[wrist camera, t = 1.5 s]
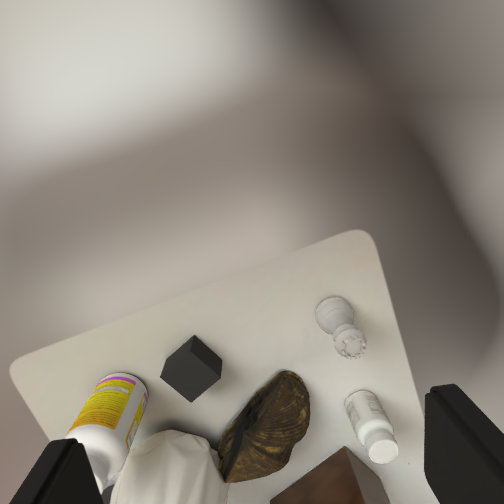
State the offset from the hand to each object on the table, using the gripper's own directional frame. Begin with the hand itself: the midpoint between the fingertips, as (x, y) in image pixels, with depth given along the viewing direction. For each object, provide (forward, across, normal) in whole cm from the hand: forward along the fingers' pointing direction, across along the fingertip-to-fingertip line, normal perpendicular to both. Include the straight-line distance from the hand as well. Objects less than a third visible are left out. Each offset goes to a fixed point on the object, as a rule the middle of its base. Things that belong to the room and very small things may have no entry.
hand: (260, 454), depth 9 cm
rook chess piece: (+30, -9, +12) cm, 34 cm away
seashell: (+30, +1, +27) cm, 40 cm away
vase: (+30, +13, +31) cm, 46 cm away
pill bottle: (+30, -12, +26) cm, 42 cm away
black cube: (+30, +8, +16) cm, 35 cm away
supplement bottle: (+31, +18, +19) cm, 40 cm away
